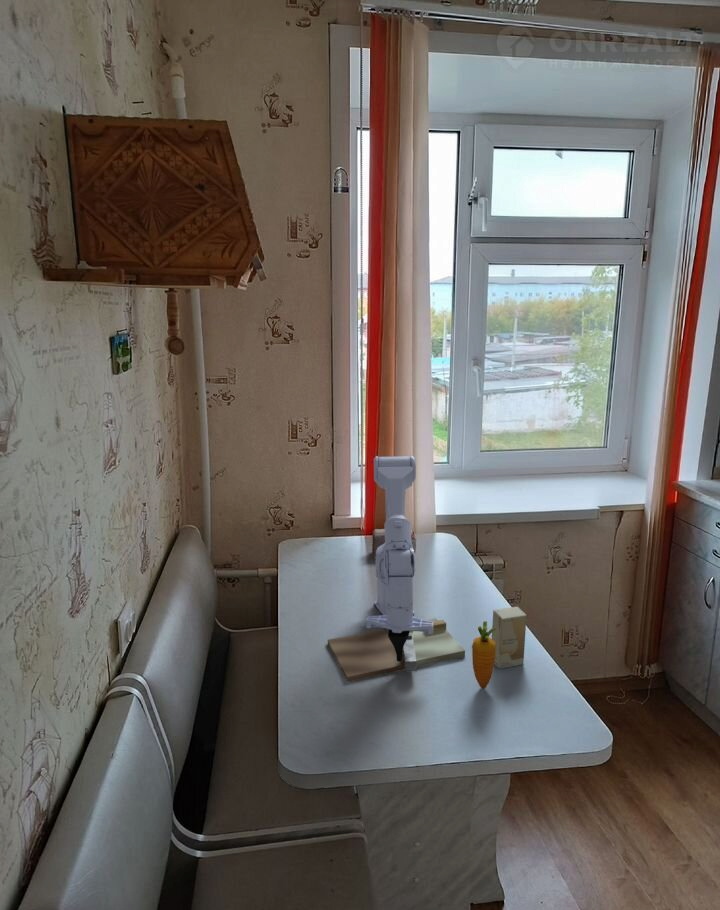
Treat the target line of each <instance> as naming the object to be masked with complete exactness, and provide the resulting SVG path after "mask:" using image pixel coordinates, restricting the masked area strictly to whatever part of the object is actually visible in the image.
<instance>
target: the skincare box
mask: <svg viewBox="0 0 720 910" xmlns="http://www.w3.org/2000/svg"><path fill="white" fill-rule="evenodd" d="M491 625H492V627H491V629H492V628H496V630H494V631H493V632H492V633H491V639H492V640H494V641H495V643H496V652H495V663H494V665H496V667H498V669H503V668H509V667H515V666H521V665H524V661H525V659H524V658H525V645H526V643H525V642H526V630H527V629H526V627H527V614H526V613H525V612H524V611H523V610H522V609H521V608H520V607H519V606H512V607H504V608H499V609H493V610H492V624H491Z"/></svg>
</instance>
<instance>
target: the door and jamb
mask: <svg viewBox="0 0 720 910" xmlns="http://www.w3.org/2000/svg"><path fill="white" fill-rule="evenodd" d="M424 620H425V621H430V622H434V630H433V634H428V632H420V631H413V633H412V635H413V642H414V649H415V655H416V668H419V667H423V666H428V665H432V664H433V665H434V664H437V663H442V662H448V661H451V660H452V661H453V660H457V659H460V658H465V657H466V650H465V649H464V647H463V646H462V645H461V644H460V643H459V642H458V641H457V640H456V639H455V637H454V636H453V635H452V634H450V632H449V631H448V630H447V621H445V620H444V619H440V620H438V619H437V618H436V617H432V618H427V619H424ZM388 633H389V631H387V630H386V628H381V629H377V630H372V631H367V632H362V633H356V634H350V635H347V636H341V637H335V638H329V639H327V645H328V648H329V650H330V651H331V653H332V655H333V657H334V659H335V661H336V663H337V664H338V667H339V669H340V670H341V672H342V675H343V676H344V678H345V680H346V682H352V681H357V680H362V679H367V678H372V677H376V676H381V675H386V674H389V673H391V674H392V673H395V672H400V671H405V665H404V657H403V656H402V660H401V661H397V654H396V651H395V648H394V646H393V644H392V642H391V641H390V639H389V637H388Z"/></svg>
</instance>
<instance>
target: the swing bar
mask: <svg viewBox="0 0 720 910" xmlns="http://www.w3.org/2000/svg"><path fill="white" fill-rule="evenodd" d="M412 633H413V631H410V632H409V636H408V638H407V640H406V642H405V644H404V646H403V649H402V650H403V657H404V665H405V670H404V672H417V667H416V655H415V649H414V642H413V635H412Z"/></svg>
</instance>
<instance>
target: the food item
mask: <svg viewBox="0 0 720 910" xmlns="http://www.w3.org/2000/svg"><path fill="white" fill-rule="evenodd" d="M371 533H372V545H371V546H372V547H371V548H372V549H371V550H372V551H371V554H372V557H373V558H374V559H376V550H377V548H378V547H379V546H381V545H383V544H384V543H385V528H381V529H380V528H379V529H378V528H374V529H373V531H371ZM411 542H412V544H413V550H414V554H416V553H417V551H416V549H417V537H416V533H415V532H414V530H413V529H412V527H411Z"/></svg>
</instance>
